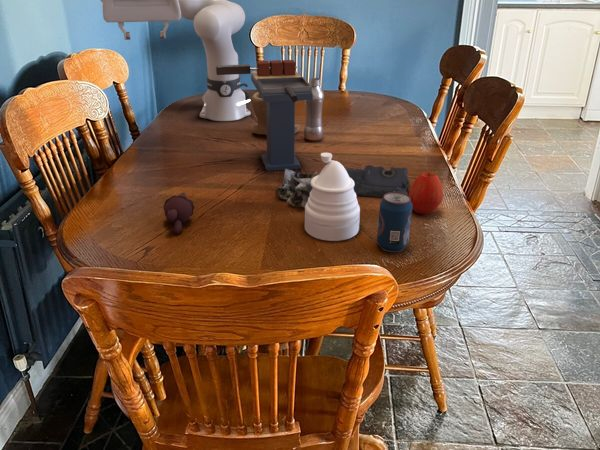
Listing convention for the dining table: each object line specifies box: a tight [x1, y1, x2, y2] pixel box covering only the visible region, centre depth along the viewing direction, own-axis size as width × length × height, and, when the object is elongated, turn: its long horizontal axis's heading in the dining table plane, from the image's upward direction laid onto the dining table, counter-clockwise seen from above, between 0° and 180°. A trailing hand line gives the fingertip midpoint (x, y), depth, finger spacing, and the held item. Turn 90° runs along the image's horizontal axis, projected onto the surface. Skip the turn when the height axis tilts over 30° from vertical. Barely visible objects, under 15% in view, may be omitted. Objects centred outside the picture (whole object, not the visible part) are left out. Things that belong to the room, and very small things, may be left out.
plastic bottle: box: [303, 77, 325, 141], centre depth 184 cm, size 6×7×20 cm
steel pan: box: [257, 76, 312, 103], centre depth 150 cm, size 20×13×2 cm, turn 12°
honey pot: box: [304, 152, 361, 242], centre depth 130 cm, size 13×13×18 cm
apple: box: [408, 171, 444, 216], centre depth 140 cm, size 8×8×11 cm
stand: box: [250, 73, 313, 172], centre depth 164 cm, size 24×13×24 cm, turn 12°
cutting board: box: [251, 70, 302, 83], centre depth 164 cm, size 10×13×1 cm
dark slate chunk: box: [345, 164, 410, 198], centre depth 156 cm, size 15×22×5 cm
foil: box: [275, 169, 319, 208], centre depth 147 cm, size 12×11×15 cm
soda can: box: [376, 192, 413, 253], centre depth 124 cm, size 7×7×12 cm
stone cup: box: [251, 91, 301, 136], centre depth 189 cm, size 15×12×15 cm
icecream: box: [162, 192, 195, 235], centre depth 135 cm, size 7×7×15 cm
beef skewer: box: [216, 59, 298, 77], centre depth 161 cm, size 4×23×4 cm, turn 102°
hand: (145, 38), depth 155 cm, fingers open, 8 cm apart
